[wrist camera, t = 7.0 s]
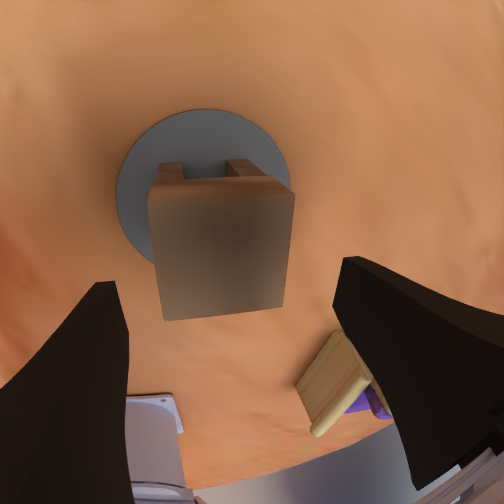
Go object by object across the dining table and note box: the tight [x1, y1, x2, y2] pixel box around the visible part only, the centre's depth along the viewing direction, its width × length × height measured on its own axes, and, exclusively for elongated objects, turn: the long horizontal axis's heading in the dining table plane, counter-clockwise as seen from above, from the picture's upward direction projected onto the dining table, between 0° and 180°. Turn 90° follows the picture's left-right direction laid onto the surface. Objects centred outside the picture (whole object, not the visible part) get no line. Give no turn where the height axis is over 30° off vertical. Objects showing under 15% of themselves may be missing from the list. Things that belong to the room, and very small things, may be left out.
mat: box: [116, 109, 290, 264], centre depth 17 cm, size 10×10×1 cm
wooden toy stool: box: [147, 159, 295, 321], centre depth 14 cm, size 5×5×6 cm
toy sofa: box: [296, 330, 393, 437], centre depth 27 cm, size 21×9×10 cm, turn 68°
